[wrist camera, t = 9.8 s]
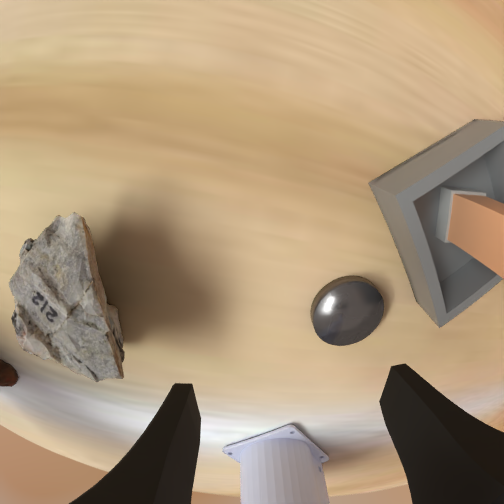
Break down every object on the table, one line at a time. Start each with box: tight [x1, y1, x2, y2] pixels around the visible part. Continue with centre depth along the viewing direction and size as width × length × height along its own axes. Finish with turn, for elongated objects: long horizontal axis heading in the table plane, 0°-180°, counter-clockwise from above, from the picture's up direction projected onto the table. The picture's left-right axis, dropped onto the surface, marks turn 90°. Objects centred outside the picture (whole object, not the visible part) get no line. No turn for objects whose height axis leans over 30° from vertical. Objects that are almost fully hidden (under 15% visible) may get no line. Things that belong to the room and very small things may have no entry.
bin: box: [369, 119, 504, 328], centre depth 16 cm, size 10×10×4 cm
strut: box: [435, 186, 504, 279], centre depth 14 cm, size 3×3×7 cm
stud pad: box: [311, 276, 384, 346], centre depth 20 cm, size 5×5×1 cm
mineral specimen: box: [9, 212, 124, 382], centre depth 17 cm, size 10×8×10 cm
